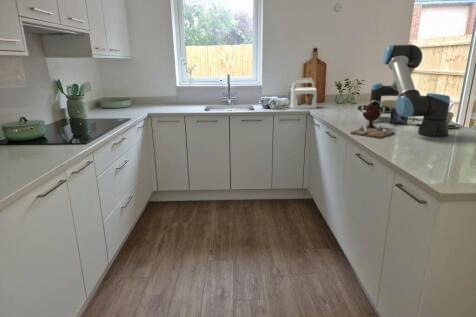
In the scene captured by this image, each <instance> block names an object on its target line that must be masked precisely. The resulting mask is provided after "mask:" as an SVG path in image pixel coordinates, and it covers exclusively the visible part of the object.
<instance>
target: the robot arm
mask: <svg viewBox="0 0 476 317" xmlns="http://www.w3.org/2000/svg"><path fill="white" fill-rule="evenodd" d="M422 60H423V52H422V50H421V49H420V47H418V45H415V44H393V45H392V44H391V45H387V46H386V47H385V50H384V52H383V55H382V63H383V65H386V66H388V68H389V69H390V70H391V71H392V74H393V77H394V80H393V81H392V83H391V85H384V84H383V82H381V83H380V82H379V83H377V82H376V83H374V82H373V83H372V84H371V88H370V100H369V104H373V105H374V106H375V107H377V108H378V109H379V111H381V112H382V114H384V113H385V112H390V107H388V106H386V105H382V97H397V98H396V100H395V104H394V105H395V108H396V111H397V113H398V114H399V115H400V116H404V117H408V118H410V117H413V118H414V117H415V118H416V117H417V118H418V117H423V118H422V121H421V122H420V123H421V124H420V126H419V127H418V131H417V134H418V135H421V136H424V137H432V138H433V137H434V138H435V137H436V138H441V137H442V138H443V137H448V136H449V128H448V123H447V121H448V117H449V116H448V115H449V109H450V105H451V103H450V102H451V97H450V96H449V95H448V94H440V93H431V92H427V93H426V95H421V93H420V91H419V90H418V89H416V88H415V85H414V82H413V78H412V76H411V75H412V74H413V72H414V71H415V69H416V68H418V67H419V66H420V65H421V63H422ZM381 105H382V106H381ZM366 106H367V104H364V105H359V106H357V111H360V112H361V113H363V112H364V111H366V110H365V107H366Z"/></svg>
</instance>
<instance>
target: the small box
mask: <svg viewBox="0 0 476 317" xmlns="http://www.w3.org/2000/svg"><path fill="white" fill-rule="evenodd" d="M408 119H409V117H404V116H400V115H399V114H398V113H397V111H396V107H391V109H390V117H389V124H390V125H402V124H407V125H408Z"/></svg>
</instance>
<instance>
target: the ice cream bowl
mask: <svg viewBox="0 0 476 317" xmlns="http://www.w3.org/2000/svg"><path fill="white" fill-rule="evenodd" d="M381 115H382V112H380V110H379V109H378V108H377V107H375V106H374V105H373V104H370V103H369V104H366V107H365V110H364V111H363V112H362V116H363V118H364V119H366V121H368V122H369V124H368V125H366V126H365V128H372V129H376V128H375V125H373V122H375V121H376V120H378V119H379V118H380V117H381Z"/></svg>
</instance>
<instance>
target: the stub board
mask: <svg viewBox="0 0 476 317" xmlns="http://www.w3.org/2000/svg"><path fill="white" fill-rule="evenodd" d="M395 133H396V132H395V131H392V130H388V129H386V128H383V129H382V125H377V127H376V128H367V127H364V126H363V125H359V128H358V129H357V130H353V131H350V135H355V136H361V137H362V136H363V137H367V138H373V139H382V138H385V137H388V136H389V137H390V136H392V135H394V134H395Z"/></svg>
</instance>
